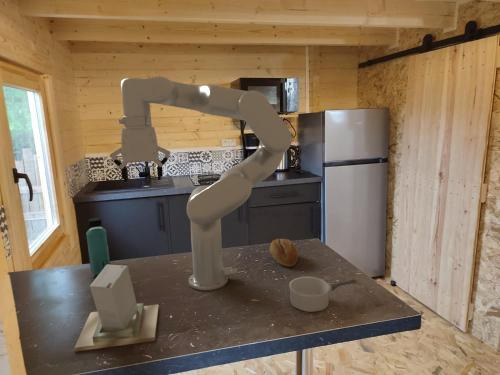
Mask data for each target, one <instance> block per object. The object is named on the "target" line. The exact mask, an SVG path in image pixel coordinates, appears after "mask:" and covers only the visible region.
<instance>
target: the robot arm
mask: <svg viewBox="0 0 500 375" xmlns="http://www.w3.org/2000/svg"><path fill="white" fill-rule="evenodd" d="M120 89H121V99H122V101H121V102H122V109H123V118H120V119H118V124H119V125H120V124H121V125H123V126H124V127H122V128H121V134H120V136H121V139H120V140H121V141H120V142H121V143H120V144H121V147H120V148H119V149H116V150H115V151H113V152H111V153H110V154H109V156H110V159H111V160H112V161H113V163H114V164H115V165H117V167H119V169H120V171H121V179H122V180H124V181H123V182H124V183H126V182H128V181H129V172H128V167H127V164H128V163H146V162H148V163H149V162H150V163H151V162H154V163H155V164H156V165H157V167H156V173H157V180H158V181H161V179H162V177H164V174H163V173H164V172H163V166H164V165H165V164H166V163H167V162H168V160H169V158H170V156H171V150H168V149H166V148H163V147H161V146H159V145H158V138H157V133H156V130H155V129H156V128H155V127H154V126H153V124H152V113H151V104H157V105H163V106H168V107H174V108H179V109H186V110H190V111H191V110H192V111H196V112H200V113H201V114H204V115H211V116H216V117H224V118H228V119H234V120H239V121H245V123H246V125H247V126H248V127H249V128H250V129H251V131H252V133H253V134H254V135H255V137H256V139H258V140H259V144H258V147H257V149H256V151H255V152H253V153H251V155H250V156H248V157H247V158H245V159H244V160H242V161H241V162H239V163H237V164H236V165H234V166H232V167H231V168H229V169H226V170H225V171H224V172H223V173H222V174H221V175H220V177H219V179H218V180H217V181H215V182H213V184H212V183H211V185H201V186H198V187H196V188H195V189H193V191H192V192H191V194H190V195H189V198H188V200H187V203H186V214H187V217H188V219H189V220H190V242H191V258H192V274H191V275H190V276H189V278H188V285H189V286H190V287H191V288H192V289H195V290H199V291H213V290H214V291H215V290H216V289H219V288H222V287H224V286H225V285H226V284H227V283H228V280H229V279H228V278H229V277H230V276H237V275H238V269H237V268H233V267H232V266H228V267H226V266H224V263H223V250H222V249H223V247H222V246H223V244H222V219H223V217H225V216H226V215H228V214H229V213H232V212H233V211H234V210H236V209H237V208H240V206H242V205H244V203H246V201H247V200H248V199H249V198H250V196H251V194H252V189H253V188H254V187H256V186H257V185H259V184H260V183H261V182H263V181H264V180H266V179H267V178H268V177H270V176H271V175H273V174H274V173H275V171H276V170H277V169H278V168H279V167H280V165H281V164H282V160H283V158H284V155H285V152H287V151H288V150H289V149H290V147H291V145H292V142H293V135H292V133H291V130H290V129H289V127H288V125H286V123H285V122H284V120H283V118H282V117H281V116H280V115H279V114H278V111H276V109H275V108H274V106H273V105H272V103H270V101H269V100H268V98H267V97H266V96H265V95H264V94H263V93H262V92H260V91H258V90H252V89H251V90H241V89H236V88H232V87H225V86H221V85H217V84H204V85H197V84H188V83H183V82H177V81H172V80H170V79H168V78H167V77H165V76H154V77H147V78H139V77H138V78H137V77H128V78H124V79H122V80H121V83H120ZM159 152H160V153H162V154H164V157H163V158H162V159H160V158H159V154H160V153H159ZM120 154H121V158H122V161H121V160H119V158H118V157H117V156H118V155H120ZM228 276H229V277H228Z"/></svg>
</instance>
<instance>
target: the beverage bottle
mask: <svg viewBox="0 0 500 375" xmlns="http://www.w3.org/2000/svg"><path fill="white" fill-rule="evenodd" d="M87 223H88V227H89V229H88V230H87V231H86V233H85V235H86V242H87V248H88V259H89V268H90V272H91V273H92V274H93V275H99V274H100V272H101V271H102V270H103V269H104V267H105V266H106V265H107V264H109V265H112V264H111V261H110V260H111V257H110V254H109V253H110V251H109V244H108V243H109V242H108V241H109V240H108V237H107V229H105V228H104V227H102V225H103V222H102V219H101V217H94V218H93V217H92V218H90V219H88V222H87Z"/></svg>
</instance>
